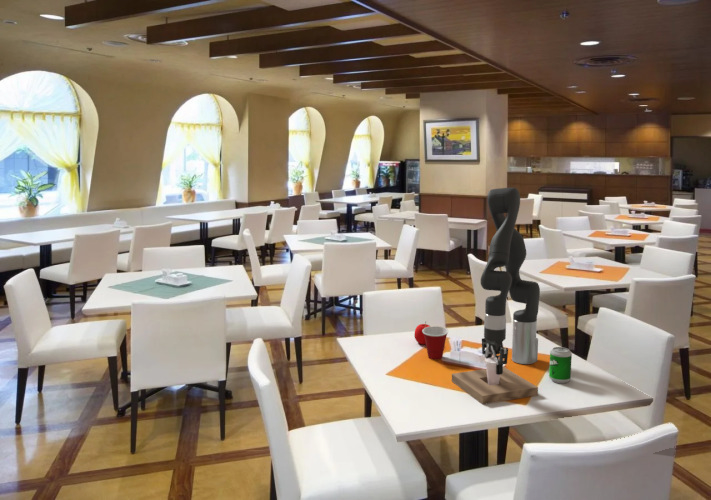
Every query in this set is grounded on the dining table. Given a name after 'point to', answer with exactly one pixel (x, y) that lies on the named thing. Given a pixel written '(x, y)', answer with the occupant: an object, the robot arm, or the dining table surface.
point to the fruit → (420, 333)
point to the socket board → (494, 386)
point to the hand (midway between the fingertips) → (493, 370)
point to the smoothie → (492, 371)
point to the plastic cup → (435, 341)
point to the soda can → (560, 365)
